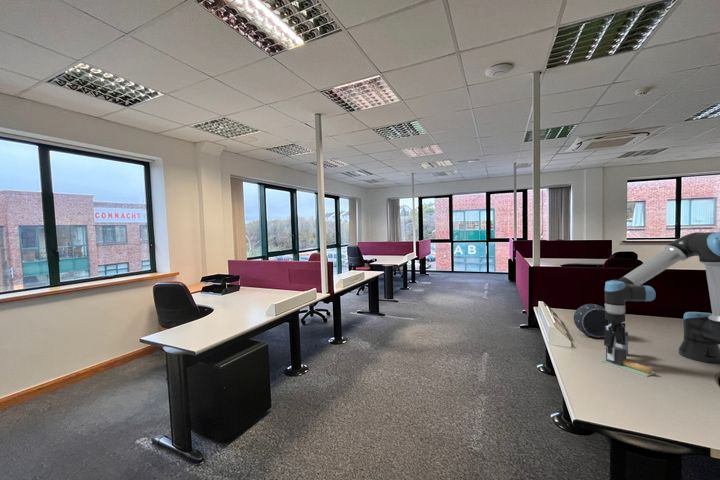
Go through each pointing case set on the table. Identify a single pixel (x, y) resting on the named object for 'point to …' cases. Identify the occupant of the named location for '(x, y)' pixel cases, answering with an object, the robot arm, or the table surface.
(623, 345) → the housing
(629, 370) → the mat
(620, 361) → the grey hammer
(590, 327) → the dark grey short cylinder
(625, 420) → the table surface
